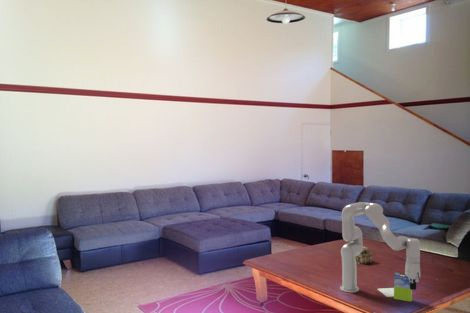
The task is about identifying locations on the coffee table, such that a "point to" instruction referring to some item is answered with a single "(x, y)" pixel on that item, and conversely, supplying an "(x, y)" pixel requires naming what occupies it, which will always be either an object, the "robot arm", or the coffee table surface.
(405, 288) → the box
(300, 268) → the coffee table surface
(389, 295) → the mat
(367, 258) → the miniature house
